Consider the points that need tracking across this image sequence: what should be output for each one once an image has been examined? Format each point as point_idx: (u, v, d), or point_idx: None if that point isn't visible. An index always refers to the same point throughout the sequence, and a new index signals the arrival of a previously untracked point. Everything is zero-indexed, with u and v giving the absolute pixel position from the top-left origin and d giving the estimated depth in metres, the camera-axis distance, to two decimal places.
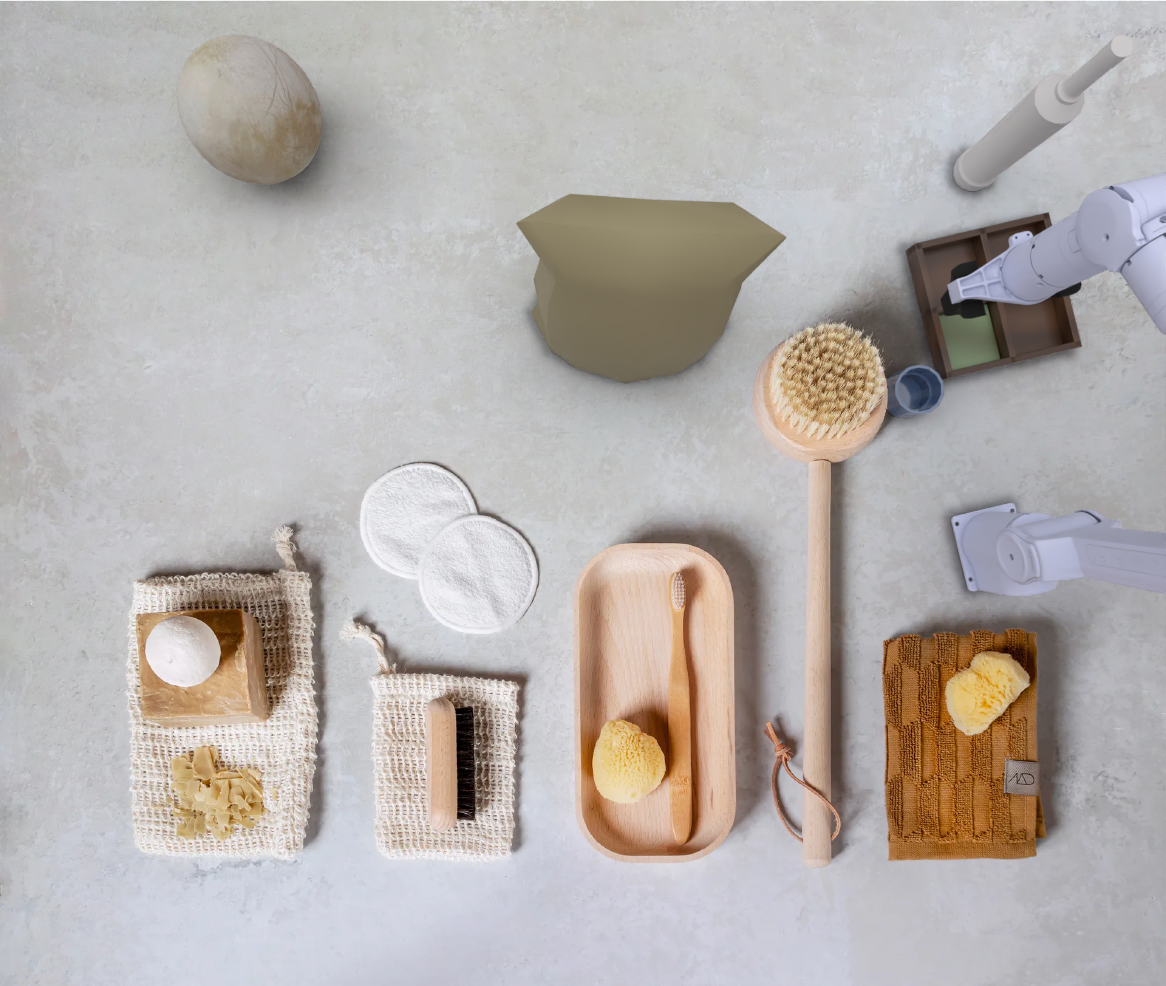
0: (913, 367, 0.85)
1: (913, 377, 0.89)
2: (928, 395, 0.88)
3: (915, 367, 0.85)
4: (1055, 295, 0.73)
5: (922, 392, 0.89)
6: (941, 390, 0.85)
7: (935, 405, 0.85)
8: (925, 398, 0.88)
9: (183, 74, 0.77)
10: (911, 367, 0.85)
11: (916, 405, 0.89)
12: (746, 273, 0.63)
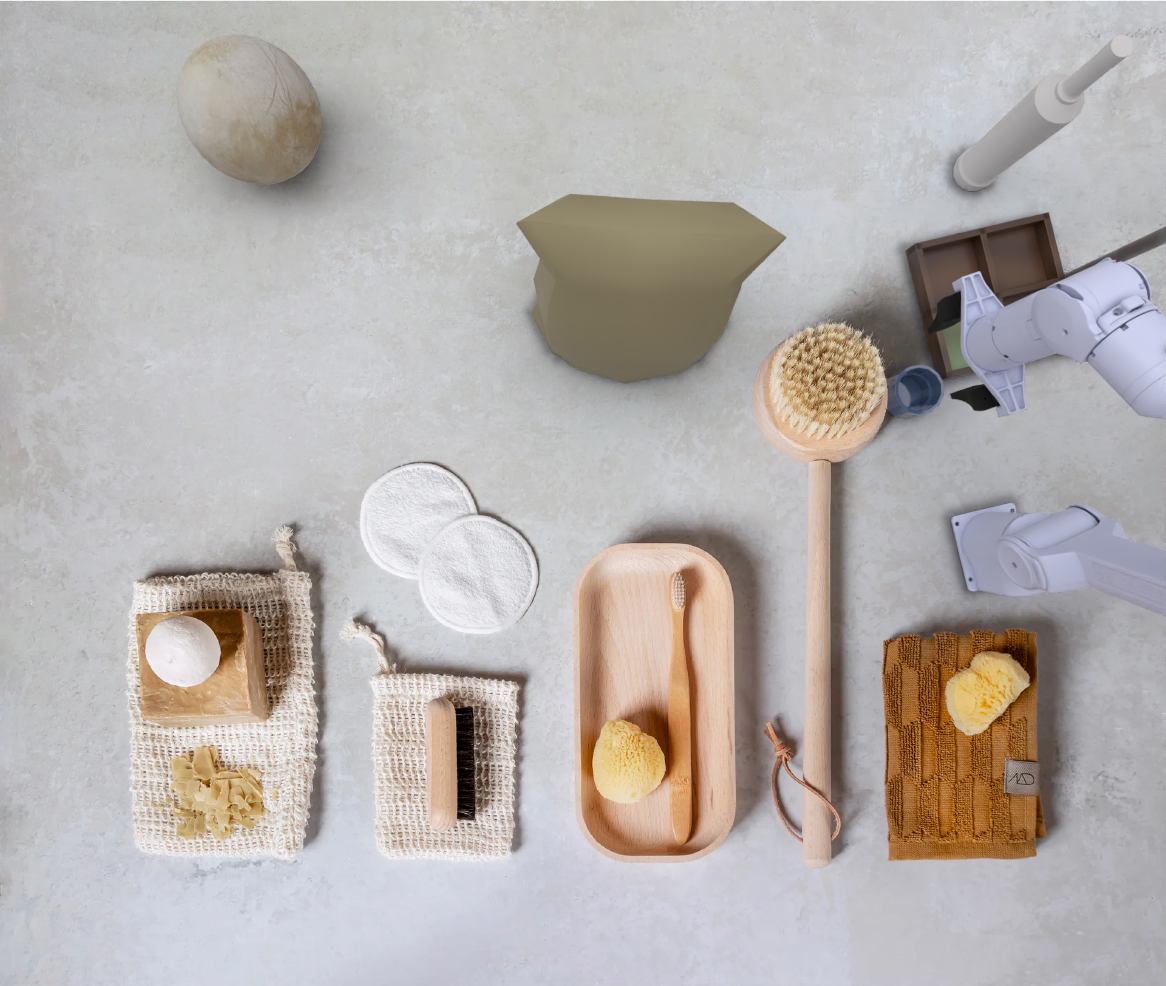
0: (913, 367, 0.85)
1: (913, 377, 0.89)
2: (928, 395, 0.88)
3: (915, 367, 0.85)
4: (968, 390, 0.75)
5: (922, 392, 0.89)
6: (941, 390, 0.85)
7: (935, 405, 0.85)
8: (925, 398, 0.88)
9: (183, 74, 0.77)
10: (911, 367, 0.85)
11: (916, 405, 0.89)
12: (746, 273, 0.63)
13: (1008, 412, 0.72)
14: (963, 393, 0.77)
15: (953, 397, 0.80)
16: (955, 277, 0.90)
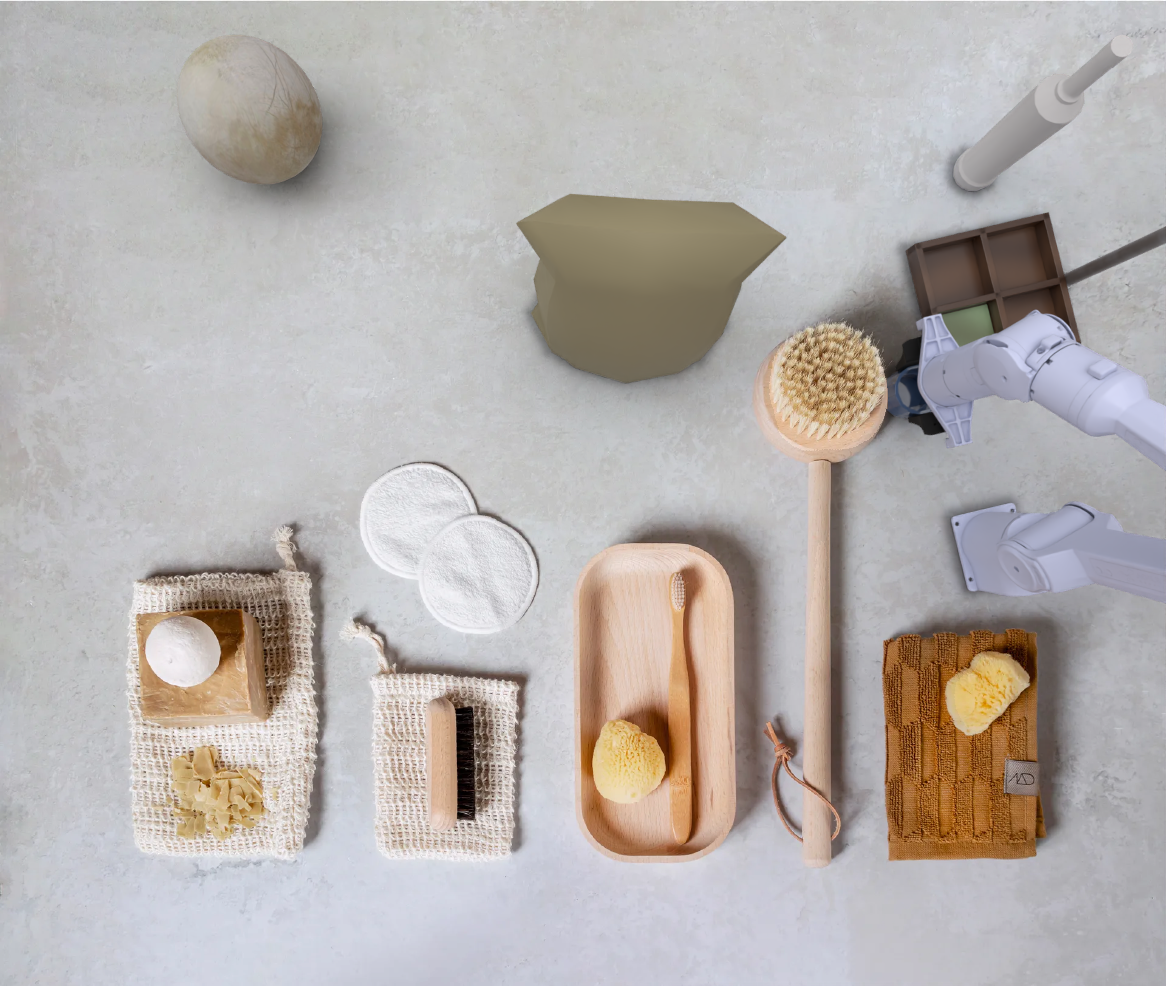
0: (913, 367, 0.85)
1: (913, 377, 0.89)
2: None
3: (915, 367, 0.85)
4: (921, 415, 0.81)
5: None
6: None
7: None
8: None
9: (183, 74, 0.77)
10: (910, 367, 0.85)
11: (916, 405, 0.89)
12: (746, 273, 0.63)
13: (954, 444, 0.79)
14: (917, 418, 0.84)
15: (910, 421, 0.87)
16: (955, 277, 0.90)
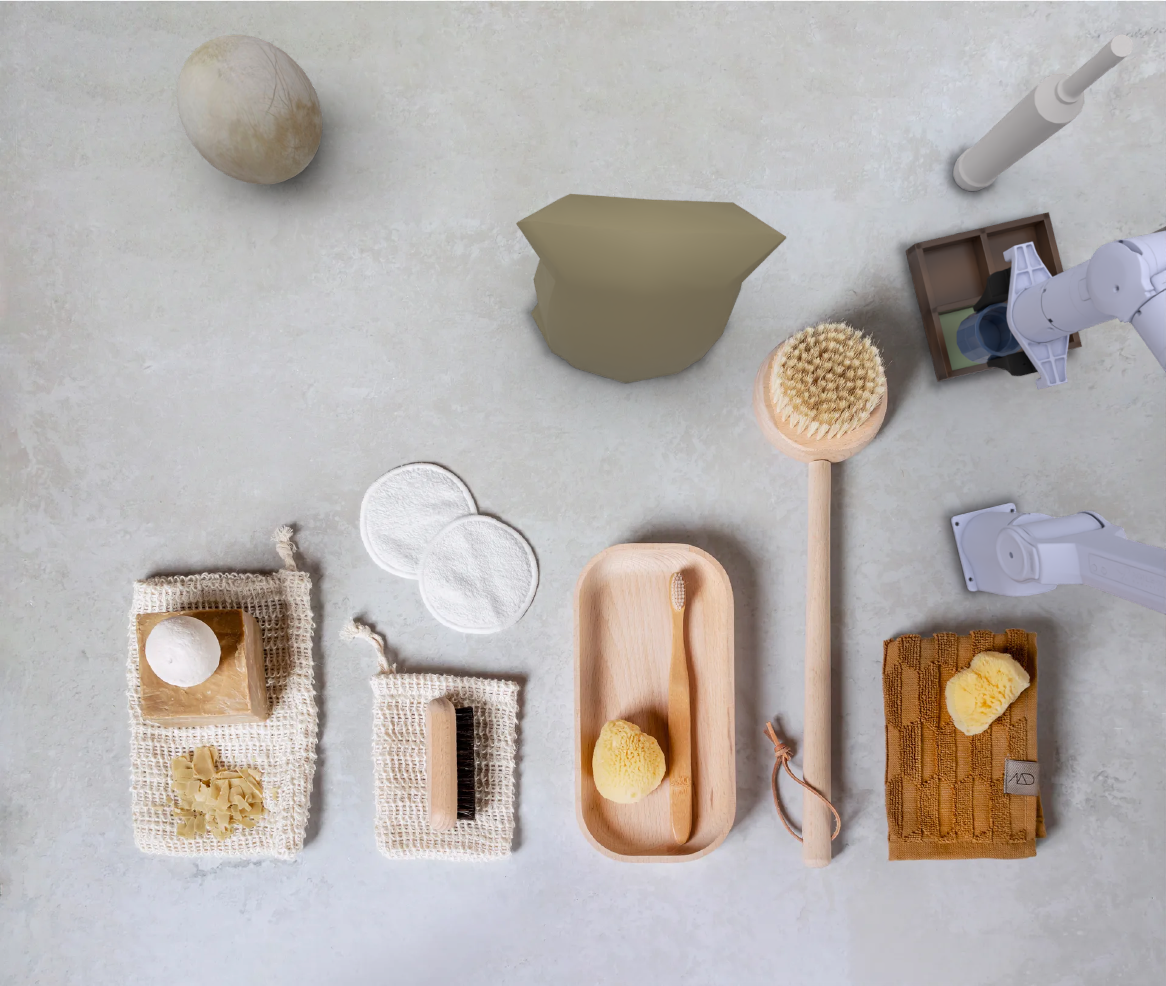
0: (995, 305, 0.79)
1: (991, 318, 0.82)
2: (1009, 337, 0.81)
3: (997, 305, 0.79)
4: (1008, 354, 0.75)
5: (1000, 335, 0.83)
6: None
7: (1019, 346, 0.79)
8: (1005, 341, 0.82)
9: (183, 74, 0.77)
10: (992, 305, 0.79)
11: (994, 349, 0.83)
12: (746, 273, 0.63)
13: (1048, 383, 0.72)
14: (1001, 359, 0.77)
15: (990, 365, 0.80)
16: (955, 277, 0.90)
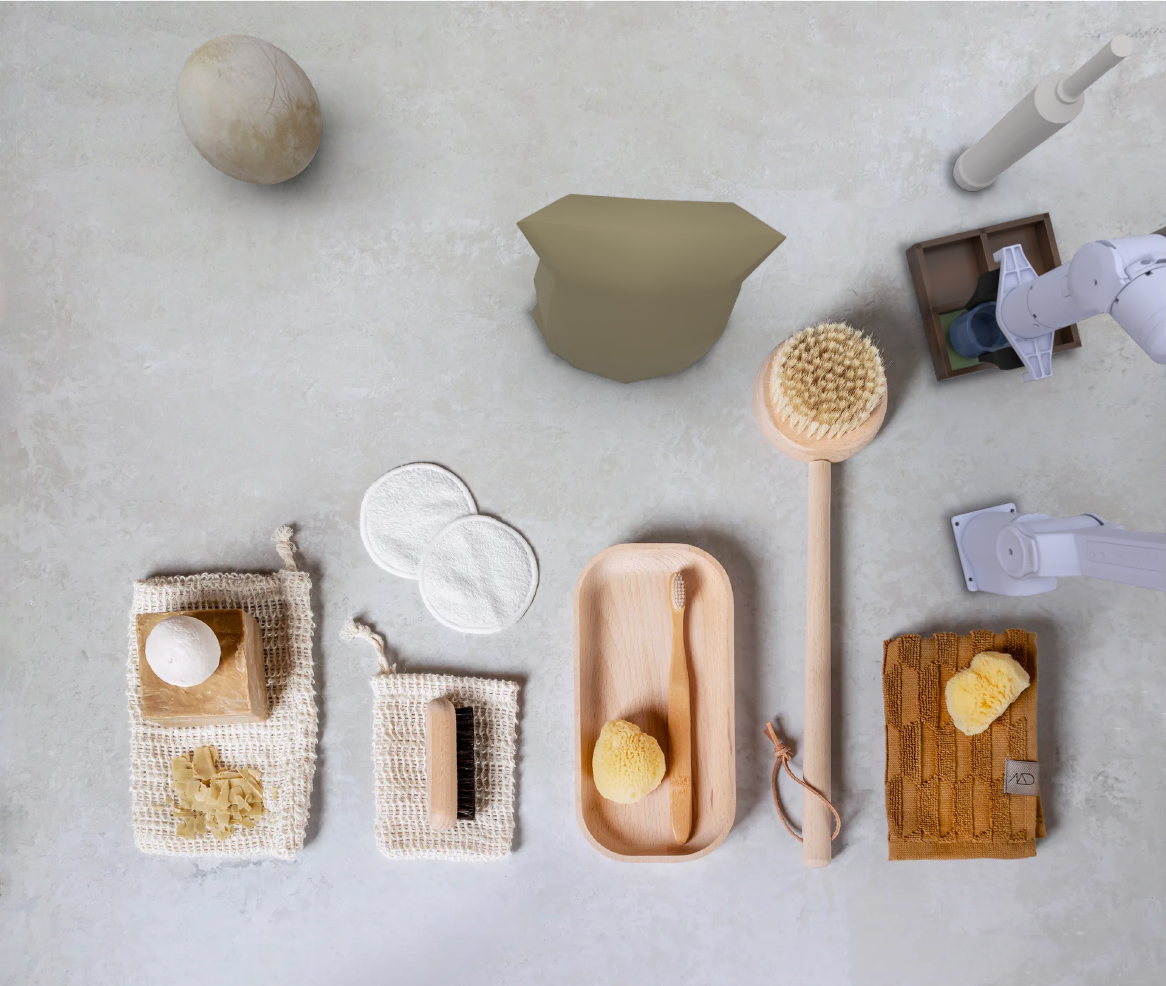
0: (986, 304, 0.84)
1: (983, 316, 0.87)
2: (999, 334, 0.86)
3: (987, 304, 0.84)
4: (997, 350, 0.80)
5: (991, 331, 0.88)
6: None
7: (1008, 342, 0.84)
8: (995, 337, 0.87)
9: (183, 74, 0.77)
10: (983, 303, 0.84)
11: (985, 345, 0.88)
12: (746, 273, 0.63)
13: (1034, 377, 0.77)
14: (991, 354, 0.82)
15: (981, 360, 0.85)
16: (955, 277, 0.90)
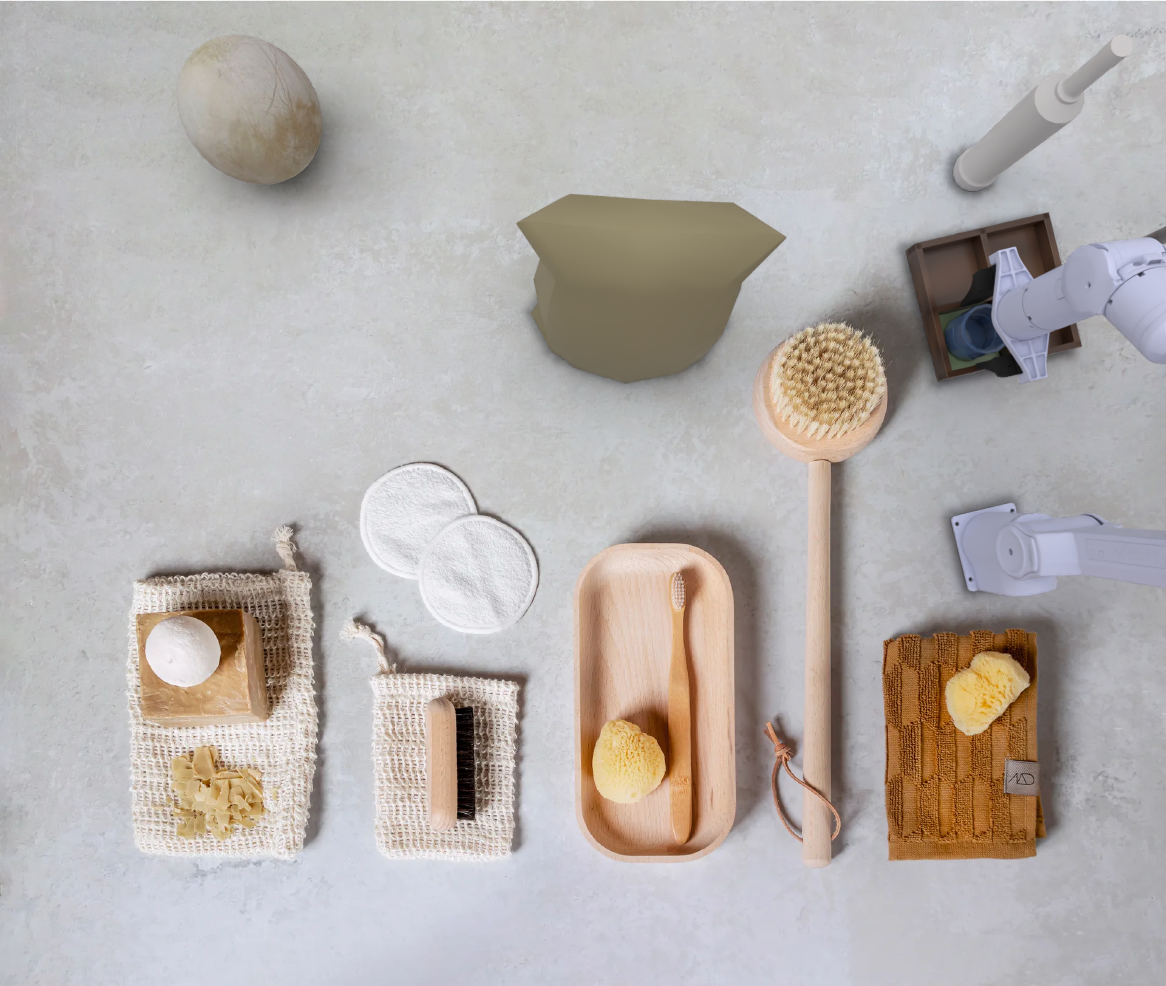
0: (980, 306, 0.85)
1: (977, 319, 0.88)
2: (993, 336, 0.87)
3: (982, 306, 0.85)
4: None
5: (985, 334, 0.89)
6: None
7: (1002, 345, 0.85)
8: (990, 339, 0.88)
9: (183, 74, 0.77)
10: (977, 306, 0.85)
11: (980, 347, 0.89)
12: (746, 273, 0.63)
13: (1029, 378, 0.78)
14: (989, 361, 0.83)
15: (978, 367, 0.86)
16: (955, 277, 0.90)
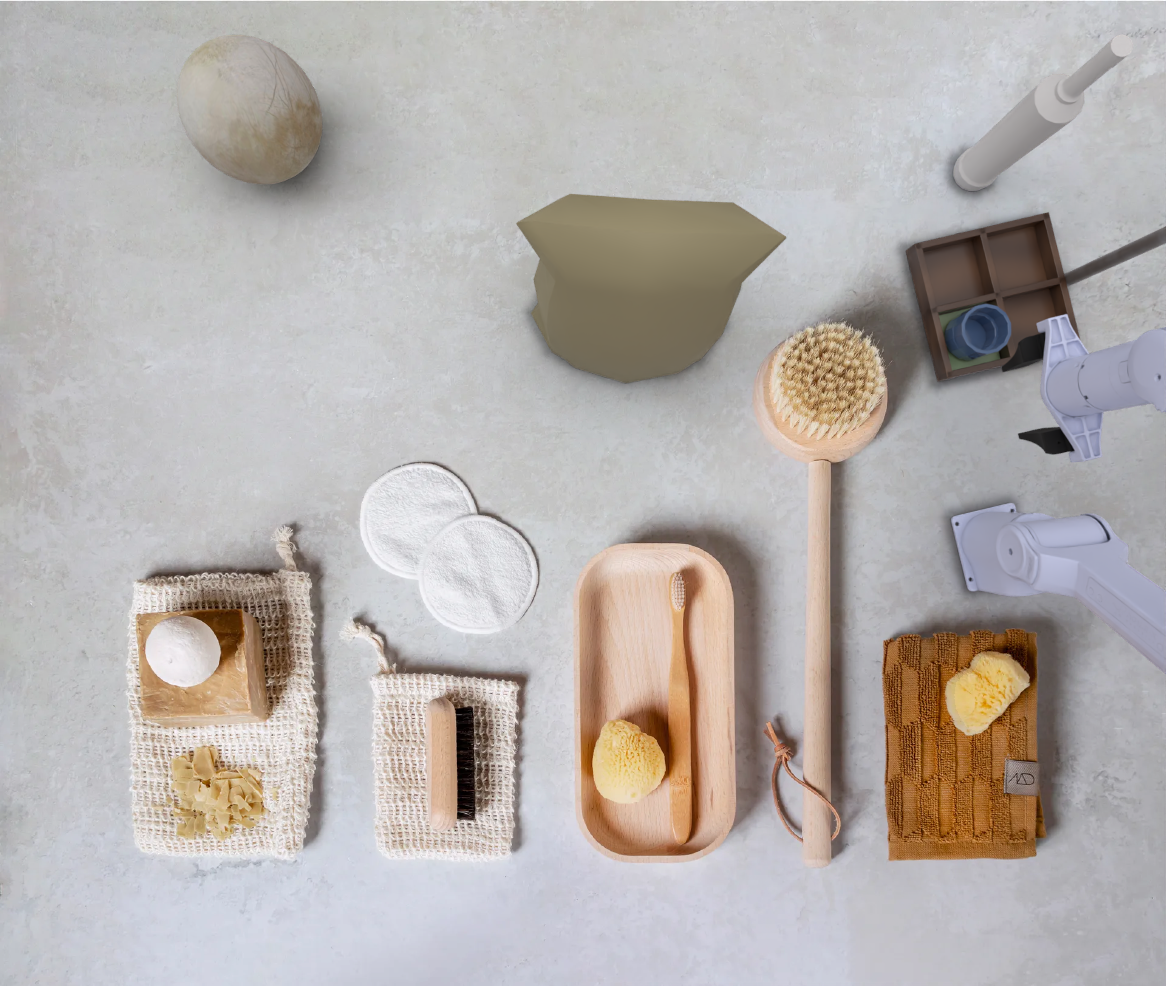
0: (980, 306, 0.85)
1: (977, 319, 0.88)
2: (993, 336, 0.87)
3: (982, 306, 0.85)
4: (1042, 432, 0.74)
5: (985, 334, 0.89)
6: (1008, 329, 0.85)
7: (1002, 345, 0.85)
8: (990, 339, 0.88)
9: (183, 74, 0.77)
10: (977, 306, 0.85)
11: (980, 347, 0.89)
12: (746, 273, 0.63)
13: (1082, 458, 0.71)
14: (1034, 435, 0.76)
15: (1022, 437, 0.79)
16: (955, 277, 0.90)
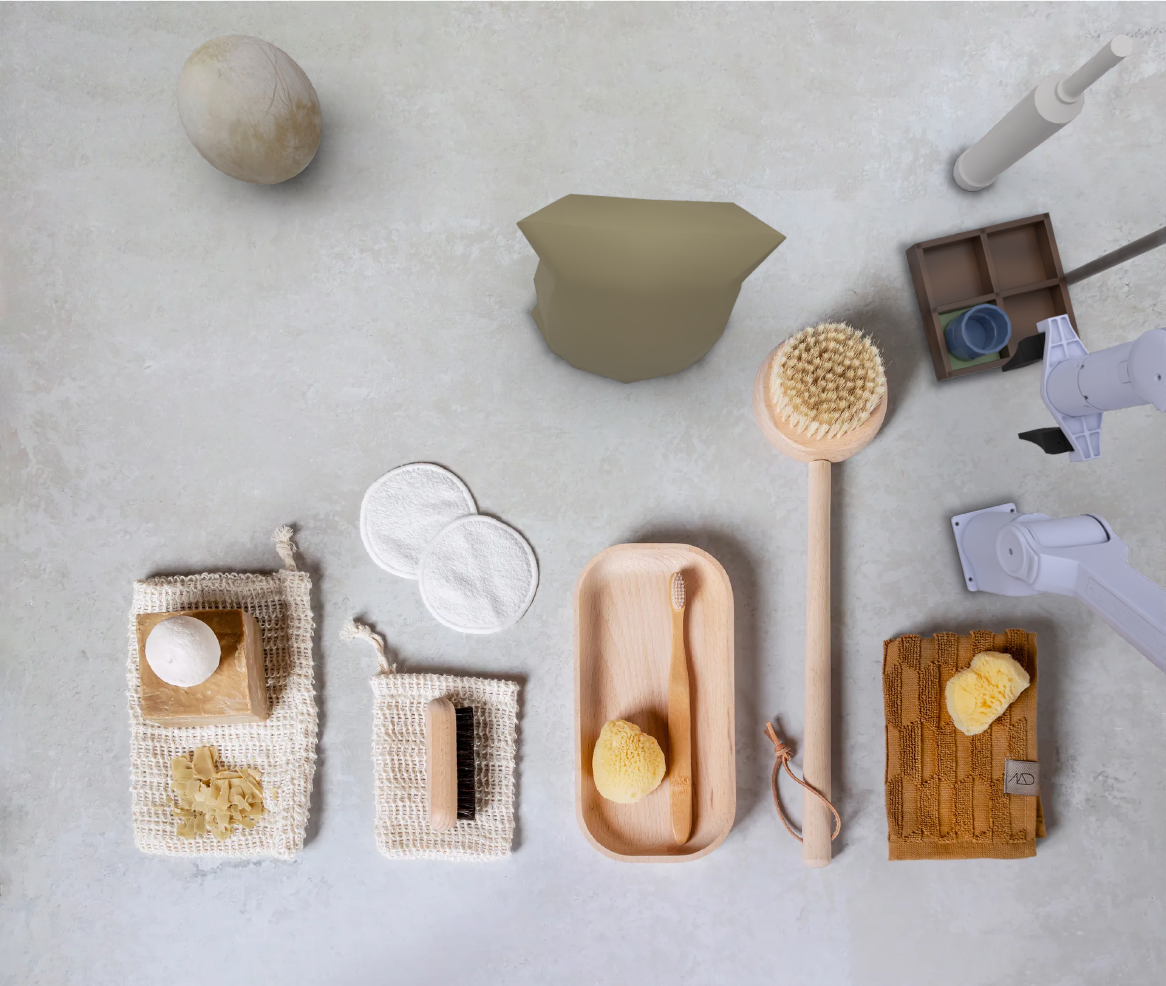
0: (980, 306, 0.85)
1: (977, 319, 0.88)
2: (993, 336, 0.87)
3: (982, 306, 0.85)
4: (1042, 432, 0.74)
5: (985, 334, 0.89)
6: (1008, 329, 0.85)
7: (1002, 345, 0.85)
8: (990, 339, 0.88)
9: (183, 74, 0.77)
10: (977, 306, 0.85)
11: (980, 347, 0.89)
12: (746, 273, 0.63)
13: (1082, 458, 0.71)
14: (1034, 435, 0.76)
15: (1022, 437, 0.79)
16: (955, 277, 0.90)
